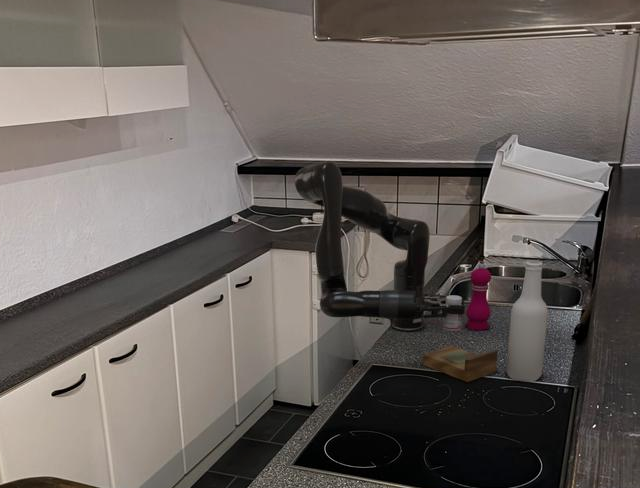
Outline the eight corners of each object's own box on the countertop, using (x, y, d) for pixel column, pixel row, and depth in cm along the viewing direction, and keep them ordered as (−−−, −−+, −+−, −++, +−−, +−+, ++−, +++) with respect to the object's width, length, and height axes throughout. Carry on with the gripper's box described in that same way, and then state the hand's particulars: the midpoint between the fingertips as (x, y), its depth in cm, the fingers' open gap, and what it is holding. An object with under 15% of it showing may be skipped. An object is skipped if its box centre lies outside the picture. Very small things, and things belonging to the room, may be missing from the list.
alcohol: (541, 383, 192) (553, 267, 181) (505, 380, 195) (515, 265, 184) (541, 370, 200) (553, 258, 189) (506, 368, 203) (516, 257, 192)
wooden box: (422, 364, 207) (423, 343, 205) (450, 355, 213) (451, 335, 210) (467, 382, 194) (468, 360, 192) (496, 372, 200) (497, 350, 198)
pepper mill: (485, 332, 230) (490, 267, 223) (462, 328, 234) (466, 264, 226) (492, 325, 236) (497, 262, 228) (469, 322, 239) (473, 259, 232)
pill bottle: (461, 331, 196) (463, 300, 193) (442, 331, 197) (444, 299, 194) (461, 326, 200) (463, 295, 197) (442, 325, 201) (444, 294, 198)
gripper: (396, 298, 191) (466, 300, 188) (398, 283, 204) (463, 285, 201) (395, 327, 193) (464, 329, 191) (397, 310, 207) (461, 312, 204)
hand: (463, 306), depth 196 cm, fingers closed on pill bottle, 4 cm apart
